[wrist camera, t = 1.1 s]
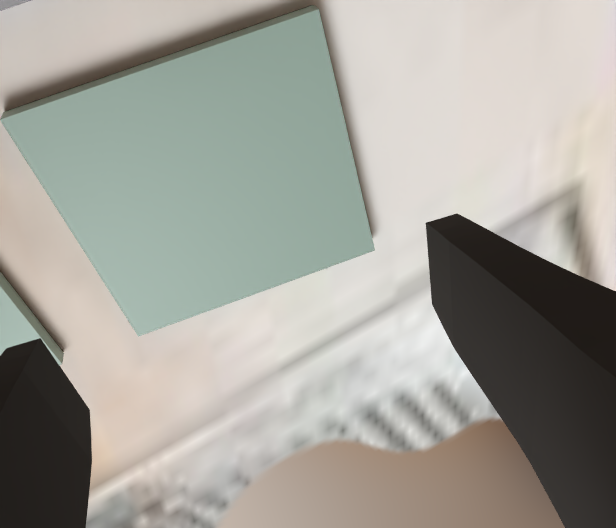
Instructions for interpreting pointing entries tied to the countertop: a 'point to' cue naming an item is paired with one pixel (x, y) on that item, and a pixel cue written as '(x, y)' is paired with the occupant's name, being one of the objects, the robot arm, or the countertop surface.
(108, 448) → the countertop surface
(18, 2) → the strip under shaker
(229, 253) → the pair of green tiles
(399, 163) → the countertop surface
